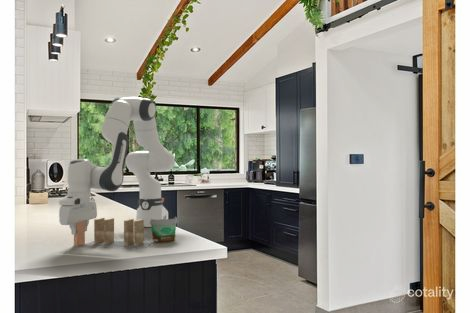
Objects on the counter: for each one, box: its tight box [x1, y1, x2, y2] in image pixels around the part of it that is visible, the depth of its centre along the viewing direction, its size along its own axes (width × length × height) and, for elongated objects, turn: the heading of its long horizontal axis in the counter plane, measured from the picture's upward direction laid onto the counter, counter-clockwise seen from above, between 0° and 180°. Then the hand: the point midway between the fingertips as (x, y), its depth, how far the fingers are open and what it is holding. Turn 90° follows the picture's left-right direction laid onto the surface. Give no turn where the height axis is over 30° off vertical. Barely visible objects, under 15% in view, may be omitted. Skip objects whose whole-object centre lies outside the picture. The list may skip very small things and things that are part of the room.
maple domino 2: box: [104, 217, 115, 245], centre depth 170 cm, size 2×5×10 cm, turn 165°
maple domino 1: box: [93, 217, 105, 244], centre depth 171 cm, size 2×5×10 cm, turn 165°
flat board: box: [83, 240, 154, 249], centre depth 169 cm, size 10×26×1 cm, turn 75°
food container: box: [150, 216, 179, 244], centre depth 173 cm, size 12×6×10 cm, turn 126°
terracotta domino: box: [73, 221, 86, 247], centre depth 168 cm, size 2×5×10 cm, turn 166°
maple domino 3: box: [123, 218, 135, 246], centre depth 168 cm, size 2×5×10 cm, turn 165°
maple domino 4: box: [134, 219, 145, 246], centre depth 167 cm, size 2×5×10 cm, turn 165°
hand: (79, 232), depth 168 cm, fingers closed on terracotta domino, 5 cm apart
